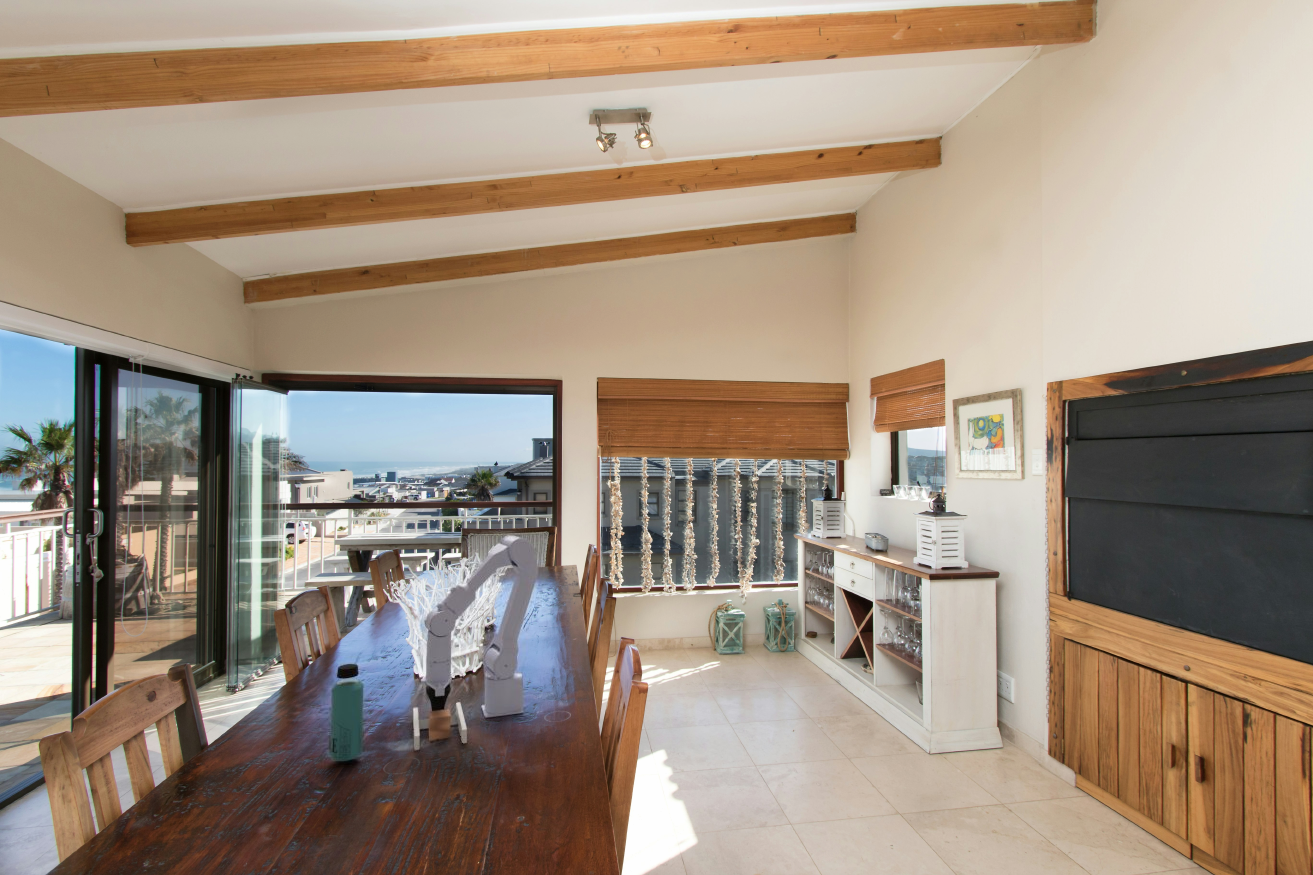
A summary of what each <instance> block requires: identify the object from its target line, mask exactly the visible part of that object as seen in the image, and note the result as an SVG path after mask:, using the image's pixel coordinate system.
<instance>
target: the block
mask: <svg viewBox="0 0 1313 875" xmlns="http://www.w3.org/2000/svg"><path fill="white" fill-rule="evenodd" d="M451 716H452V715H451V711H450V708H447V709H444V710H438V711H432V710H431V711H430V710H429V711H428V719H429V729H428V739H429V740H428V741H430V740H431V741H437V740H436V739H439V740H445V739H444V738H446V739H451V726H450V725H451Z"/></svg>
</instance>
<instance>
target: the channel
mask: <svg viewBox="0 0 1313 875" xmlns="http://www.w3.org/2000/svg"><path fill="white" fill-rule="evenodd" d="M412 710H413V712H412V723H413V724H412V725H413V726H412V727H413V728H412V730H413V729H414V730H413V745H414V746H413V748H414V751H419V750H420V740H421V738H420V731H425V729H427V730H429V718H423V719H419V707H413V709H412ZM463 711H464V710H463V708H462V704H461V701H459V702H456V703H455V715H451V725H450V727H455V726H457V727H458V731H459V737H460V736H461V737H460V741H461V744H462V743H463V744H467V741H468V740H467V738H468V728H467V724H466V720H465V715H464V713H463Z"/></svg>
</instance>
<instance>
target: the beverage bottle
mask: <svg viewBox="0 0 1313 875" xmlns="http://www.w3.org/2000/svg"><path fill="white" fill-rule="evenodd" d="M358 676H359V665H358V664H356V663H346V664H345V663H344V664H341V665H339V666H338V667H337V673H336V678H337V679H342V680H339V681H337V682H336V683H335V684H334V685H333V686H332V688H331V689H330V692H331V695H330V696H331V703H330V705H331V706H330V707H331V708H330V714H329V715H330V723H329V724H330V725H329V726H330V731H329V742H328V743H329V744H328V745H329V751H328V752H329V757H330V759H331V760H332V761H336V762H346V761H350V760H353V759H357V758H358V757H360V756H361V755H362V753H363V750H364V735H365V734H364V721H365V719H364V688H365V685H364V683H363V682H361V680H359V679H357V678H356V677H358Z"/></svg>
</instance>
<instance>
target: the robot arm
mask: <svg viewBox="0 0 1313 875" xmlns="http://www.w3.org/2000/svg"><path fill="white" fill-rule="evenodd" d="M536 553H537V550H536V548H535V546H534V545H533V544H532V542H531V541H530V540H529V539H528V538H524V537H518V536H517V535H514V534H508V535H505V536H504V537H502V539H501V540H500V541H499V543H497V544H496V545H494V547H493V548H492V549H491V551H490V552H489V554H488V555H487V556H486V557H485V559H484V560H483V561H482V562H481V563H480V565H479V566H478V567H477V569H476V570H475V571H473V573H472V574H471V576H470V577H469V578H468V579H467V581H466V582H465V583H464V582H463V583H458V584H457V585H456V586H452V587H450V589H449V594H447V596H446V597H445V598H444V599H443V600H442V601H441V602H438V603H437V605H436V606H435V607H436V608H435V609H432V610H431V611H429V612H428V614H427V616H426V619H425V620H423V621H424V626H425V628H426V629H427V640H426V663H425V664H426V665H425V666H426V669H425V670H426V671H425V672H426V674H425V676H426V677H423V678H421V679H420V684H421V685H426V686H425V692H426V695H427V696H428V699H429V703H430V707H431V708H430V709H431V711H438V710H445V706H446V703H447V699H448V697H449V695H450V694H451V691H452V688H451V682H452V679H453V677H452V674H451V673H452V642H453V641H452V632H453V631H454V629H455V627H456V621H457V620H459V618H460V617H461V616H462V615H463V614H464V613H465V612H466V610H467V609H469V607H470V606H471V605H472V604H473V603H474V602H475V601H476V595H477V593H476V592H477V591H478V590H479V589H480V588H481V587H482V586H483V585H484V584H485V583H486V581H488V579H490V578H491V576H493V575H494V573H496V571H497V570H498V569H500V568H503V567H508V566H511V567H512V568H513V570H514V572H515V574H516V575H515V579H514V581H513V585H512V587H511V590H510V594H509V597H508V600H507V603H506V607H505V609H504V613H503V616H502V619H501V623H500V624H499V625H500V626H499V628H498V632H497V634H496V635H495V636H493V638H492V639H491V642H490V644H489V646H488V647H487V648H486V650H485V651H484V652H483V656H482V660H483V664H484V666H485V667H486V672H485V675H484V676H485V677H484V679H485V680H484V704H482V705H481V710H482V712H483V716H484V718H493V717H500V716H501V717H502V716H510V715H517V714H523V713H524V678H523V675H522V673H521V672H517V673H516V671H517V669H518V654H519V644H518V638H519V636H520V632H521V628H522V625H523V623H524V620H525V616H526V613H527V610H528V607H529V603H530V600H531V597H532V594H533V591H534V588H535V585H536V582H537V578H538V575H539V568H538V563H537V562H538V561H537V557H536Z"/></svg>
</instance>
